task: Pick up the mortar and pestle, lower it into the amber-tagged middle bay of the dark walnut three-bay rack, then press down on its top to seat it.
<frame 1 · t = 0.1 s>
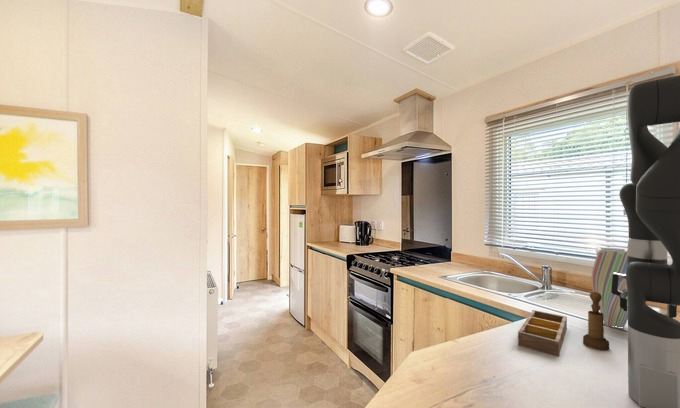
hand: (646, 314, 80), 17 cm above the worktop, tool pointing down, fingers open, 8 cm apart
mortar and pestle: (595, 346, 98), on the worktop
vase: (613, 325, 114), on the worktop
rack: (544, 336, 105), on the worktop
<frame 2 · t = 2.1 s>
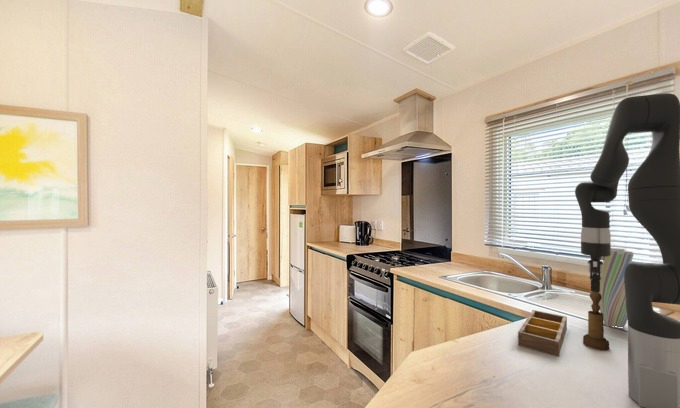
hand: (595, 289, 98), 19 cm above the worktop, tool pointing down, fingers open, 8 cm apart
nothing on the worktop moved.
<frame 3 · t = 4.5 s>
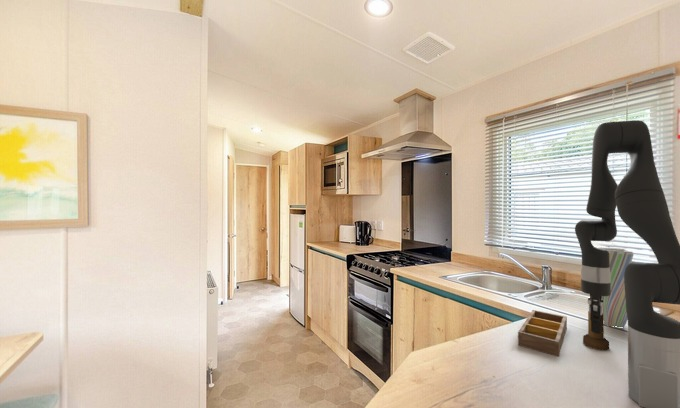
hand: (595, 330, 98), 5 cm above the worktop, tool pointing down, fingers closed on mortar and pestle, 4 cm apart
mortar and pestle: (595, 346, 98), on the worktop, touching gripper
everything else where it was.
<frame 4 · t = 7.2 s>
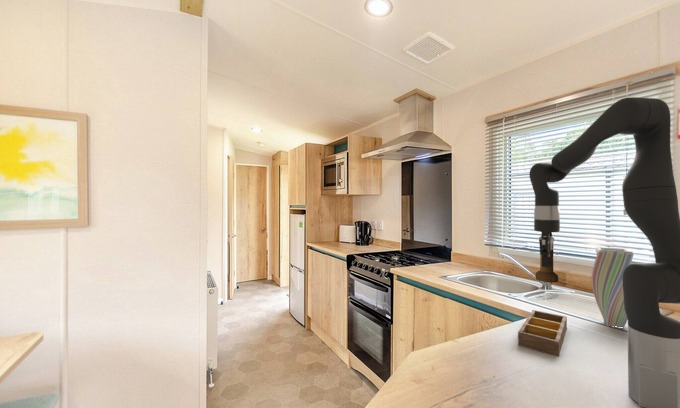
hand: (546, 265, 105), 26 cm above the worktop, tool pointing down, fingers closed on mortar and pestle, 4 cm apart
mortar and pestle: (546, 280, 105), point 20 cm above the worktop, touching gripper
everything else where it was.
when the fingers open (7 cm above the worktop, at t = 10.3 s): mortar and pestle stays where it is, resting on rack.
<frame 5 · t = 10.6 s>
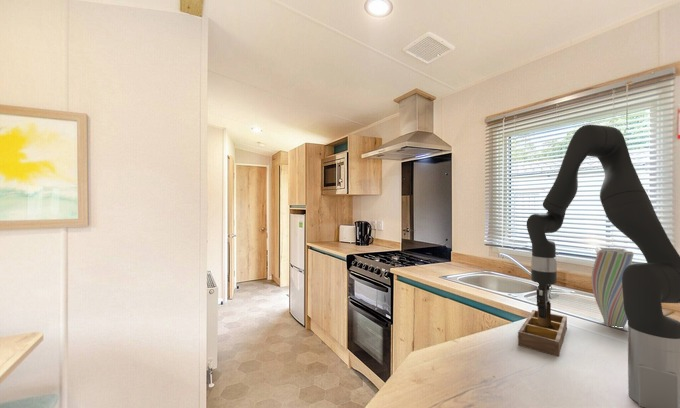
hand: (543, 314, 105), 8 cm above the worktop, tool pointing down, fingers open, 6 cm apart
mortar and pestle: (544, 333, 105), point 1 cm above the worktop, touching rack
everything else where it was.
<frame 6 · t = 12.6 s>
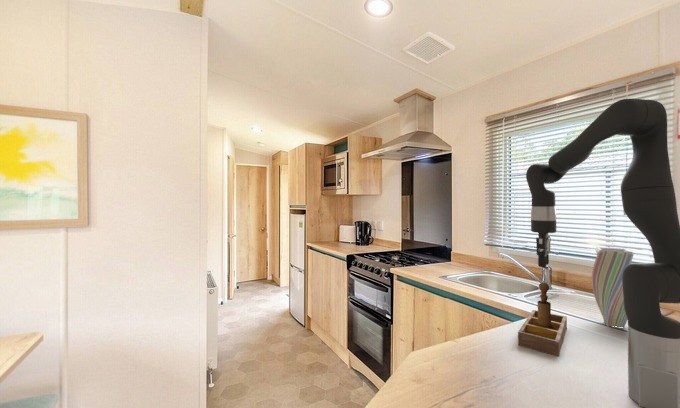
hand: (543, 265, 105), 26 cm above the worktop, tool pointing down, fingers open, 6 cm apart
nothing on the worktop moved.
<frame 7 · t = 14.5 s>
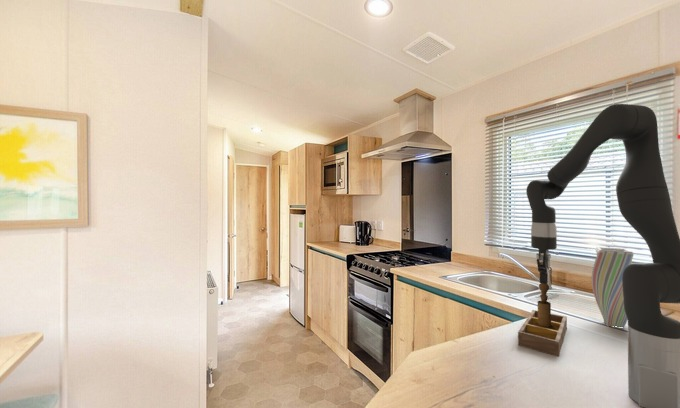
hand: (543, 283, 105), 19 cm above the worktop, tool pointing down, fingers closed
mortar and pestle: (544, 333, 105), point 1 cm above the worktop, touching gripper, rack
everything else where it was.
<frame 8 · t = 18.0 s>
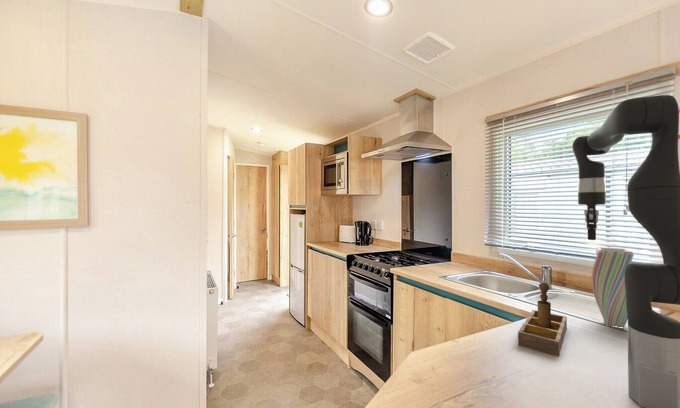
hand: (591, 239, 104), 35 cm above the worktop, tool pointing down, fingers closed
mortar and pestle: (544, 333, 105), point 1 cm above the worktop, touching rack
everything else where it was.
at the end: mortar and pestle 0.1 cm off-centre on the rack, point 1.0 cm above the rack's base; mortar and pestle tilted 0°; the gripper is holding nothing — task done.
